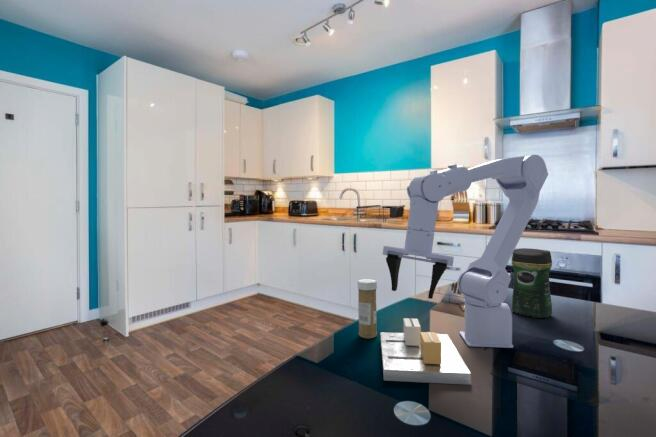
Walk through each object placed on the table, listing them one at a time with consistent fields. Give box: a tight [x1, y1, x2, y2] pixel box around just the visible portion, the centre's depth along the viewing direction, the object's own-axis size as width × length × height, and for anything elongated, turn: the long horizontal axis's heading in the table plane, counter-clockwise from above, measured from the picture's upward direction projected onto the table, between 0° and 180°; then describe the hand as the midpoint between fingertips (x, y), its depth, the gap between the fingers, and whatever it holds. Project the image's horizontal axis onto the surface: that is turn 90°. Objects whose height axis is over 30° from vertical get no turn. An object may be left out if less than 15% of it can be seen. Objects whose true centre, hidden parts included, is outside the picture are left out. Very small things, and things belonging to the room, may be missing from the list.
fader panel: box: [380, 331, 472, 386], centre depth 69 cm, size 15×18×2 cm
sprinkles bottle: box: [357, 278, 378, 339], centre depth 82 cm, size 5×5×14 cm
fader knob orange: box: [420, 331, 441, 364], centre depth 65 cm, size 3×5×4 cm, turn 173°
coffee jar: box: [511, 247, 553, 319], centre depth 96 cm, size 10×8×19 cm
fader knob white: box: [402, 317, 422, 346], centre depth 73 cm, size 3×5×4 cm, turn 173°
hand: (411, 294), depth 73 cm, fingers open, 7 cm apart
